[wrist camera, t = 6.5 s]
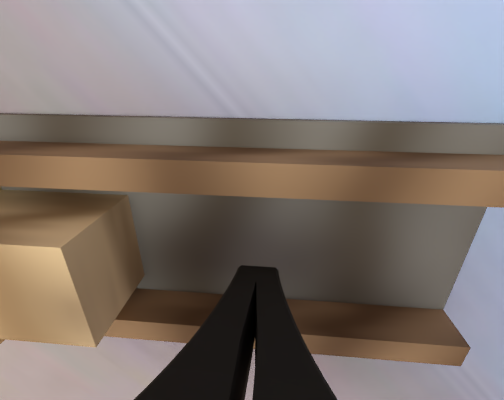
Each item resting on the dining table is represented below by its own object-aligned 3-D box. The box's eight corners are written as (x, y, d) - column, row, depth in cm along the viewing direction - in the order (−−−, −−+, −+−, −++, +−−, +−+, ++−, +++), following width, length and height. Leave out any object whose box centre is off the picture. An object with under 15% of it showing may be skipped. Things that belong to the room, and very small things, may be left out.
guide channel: (512, 123, 9) (583, 136, 7) (425, 334, 14) (452, 380, 12) (-55, 112, 11) (-135, 120, 9) (34, 304, 16) (-5, 340, 14)
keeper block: (128, 195, 12) (60, 247, 8) (144, 275, 13) (96, 347, 10) (2, 189, 12) (-117, 237, 8) (35, 267, 14) (-50, 334, 10)
